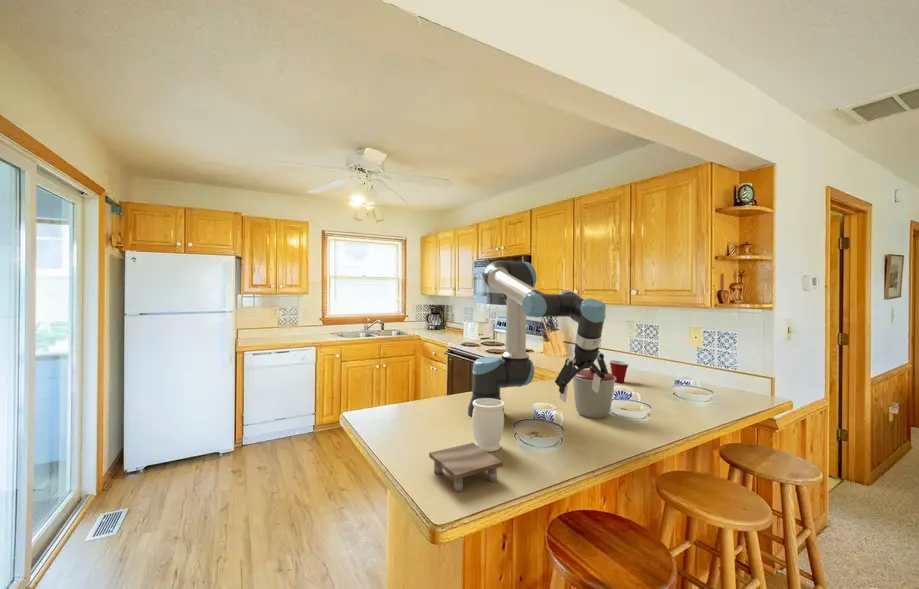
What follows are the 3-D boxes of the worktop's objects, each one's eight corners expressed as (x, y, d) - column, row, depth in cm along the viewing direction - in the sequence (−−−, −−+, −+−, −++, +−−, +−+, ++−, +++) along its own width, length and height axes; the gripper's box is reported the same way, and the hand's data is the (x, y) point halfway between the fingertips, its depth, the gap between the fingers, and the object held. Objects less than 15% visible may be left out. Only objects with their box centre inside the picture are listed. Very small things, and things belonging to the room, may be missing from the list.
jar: (503, 441, 132) (504, 398, 132) (503, 454, 122) (504, 407, 122) (472, 439, 133) (473, 397, 133) (470, 452, 123) (471, 406, 123)
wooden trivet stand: (428, 470, 110) (429, 452, 110) (472, 459, 118) (472, 442, 118) (455, 495, 98) (455, 474, 97) (502, 480, 105) (502, 462, 105)
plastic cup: (632, 384, 217) (632, 363, 217) (612, 384, 217) (613, 363, 217) (624, 380, 228) (624, 360, 228) (605, 379, 228) (606, 359, 228)
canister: (565, 407, 173) (566, 360, 172) (606, 408, 172) (607, 361, 172) (576, 421, 155) (578, 369, 154) (622, 422, 154) (623, 370, 154)
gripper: (561, 358, 120) (554, 410, 129) (625, 342, 128) (614, 393, 137) (548, 345, 126) (542, 396, 135) (610, 331, 134) (600, 380, 143)
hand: (578, 395), depth 136 cm, fingers open, 13 cm apart
